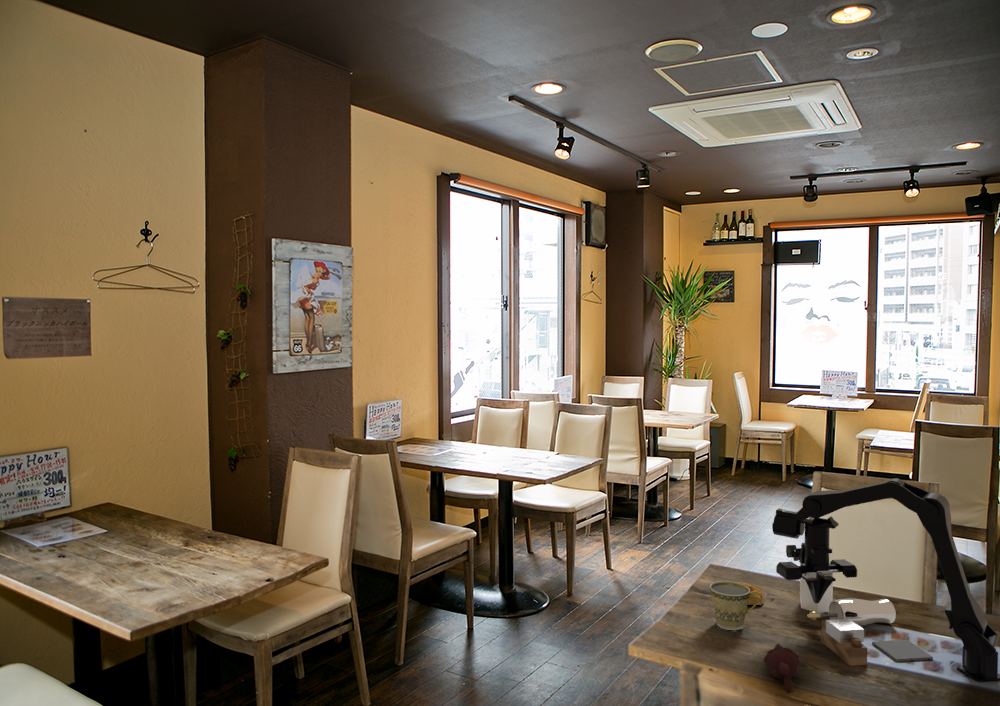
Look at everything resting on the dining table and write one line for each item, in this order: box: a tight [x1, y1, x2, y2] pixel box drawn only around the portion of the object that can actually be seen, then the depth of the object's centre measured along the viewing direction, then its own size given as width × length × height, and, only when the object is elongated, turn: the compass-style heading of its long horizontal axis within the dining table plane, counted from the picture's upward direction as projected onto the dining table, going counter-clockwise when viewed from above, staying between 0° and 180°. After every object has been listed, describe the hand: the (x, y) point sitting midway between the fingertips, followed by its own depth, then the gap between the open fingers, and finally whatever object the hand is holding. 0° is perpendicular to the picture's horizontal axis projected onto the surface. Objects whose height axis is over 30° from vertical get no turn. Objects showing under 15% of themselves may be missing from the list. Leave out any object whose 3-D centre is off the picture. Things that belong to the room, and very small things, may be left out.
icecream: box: [763, 643, 800, 693], centre depth 157 cm, size 7×7×15 cm
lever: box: [806, 611, 838, 621], centre depth 177 cm, size 9×4×2 cm, turn 5°
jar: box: [799, 562, 834, 614], centre depth 194 cm, size 9×8×12 cm
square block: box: [826, 619, 865, 643], centre depth 167 cm, size 6×6×3 cm
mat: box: [871, 639, 934, 663], centre depth 168 cm, size 9×9×1 cm
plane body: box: [821, 618, 868, 667], centre depth 167 cm, size 12×4×6 cm, turn 6°
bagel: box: [735, 581, 766, 606], centre depth 199 cm, size 10×11×5 cm
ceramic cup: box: [709, 580, 762, 631], centre depth 182 cm, size 13×10×10 cm
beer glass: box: [827, 598, 897, 627], centre depth 183 cm, size 7×7×15 cm
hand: (816, 602), depth 179 cm, fingers closed
